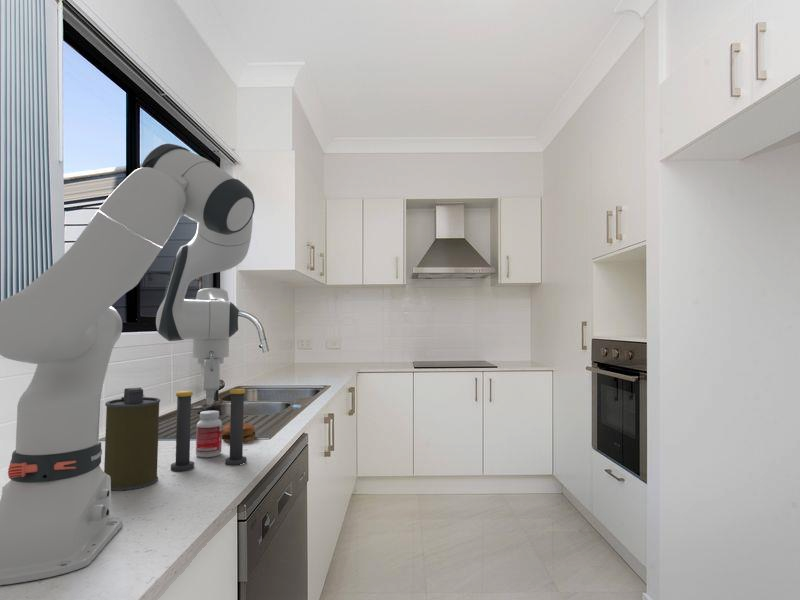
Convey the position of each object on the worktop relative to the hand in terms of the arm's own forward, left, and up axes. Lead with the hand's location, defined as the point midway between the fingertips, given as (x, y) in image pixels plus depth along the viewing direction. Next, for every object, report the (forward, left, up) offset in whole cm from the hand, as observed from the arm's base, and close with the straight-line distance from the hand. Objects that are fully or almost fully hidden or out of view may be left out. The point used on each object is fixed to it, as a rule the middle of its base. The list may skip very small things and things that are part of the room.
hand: (209, 403), depth 127 cm
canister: (-17, +16, -13) cm, 27 cm away
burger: (+14, -9, -14) cm, 22 cm away
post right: (-10, -6, -13) cm, 18 cm away
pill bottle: (0, 0, -13) cm, 13 cm away
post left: (-10, +6, -13) cm, 17 cm away
